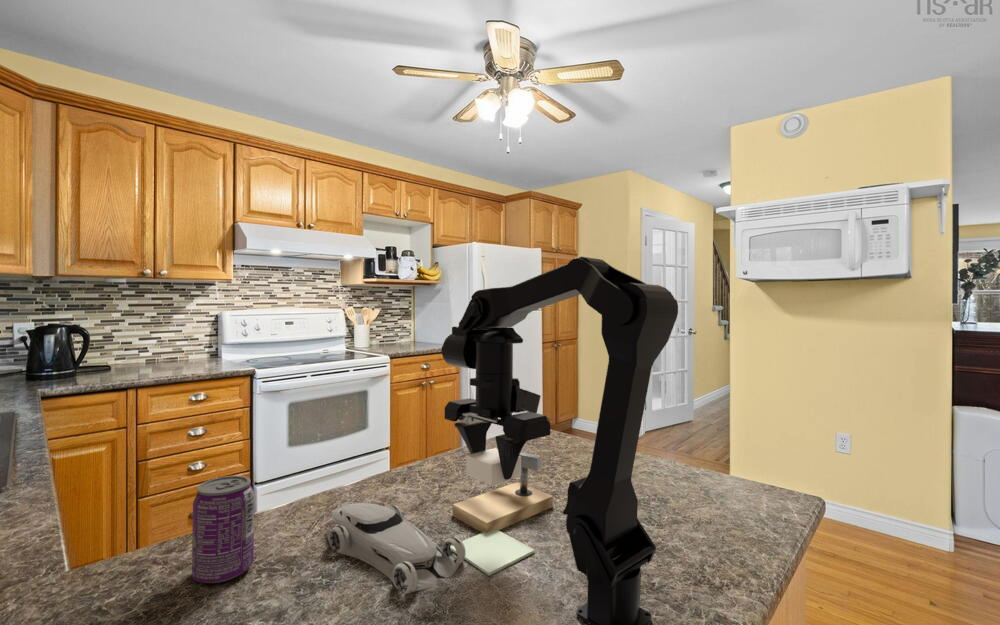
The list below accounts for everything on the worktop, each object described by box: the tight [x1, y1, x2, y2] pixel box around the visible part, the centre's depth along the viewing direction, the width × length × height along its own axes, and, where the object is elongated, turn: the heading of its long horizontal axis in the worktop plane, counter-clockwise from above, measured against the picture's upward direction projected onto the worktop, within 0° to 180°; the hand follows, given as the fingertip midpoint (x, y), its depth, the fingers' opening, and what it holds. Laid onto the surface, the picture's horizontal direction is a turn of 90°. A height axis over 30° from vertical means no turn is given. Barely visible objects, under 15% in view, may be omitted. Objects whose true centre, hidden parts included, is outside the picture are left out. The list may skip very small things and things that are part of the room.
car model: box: [326, 502, 466, 595], centre depth 69 cm, size 11×24×5 cm, turn 50°
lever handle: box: [519, 451, 542, 493], centre depth 86 cm, size 10×2×7 cm, turn 61°
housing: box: [452, 481, 554, 533], centre depth 82 cm, size 16×9×2 cm, turn 133°
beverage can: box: [191, 475, 255, 584], centre depth 62 cm, size 7×7×12 cm
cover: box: [465, 447, 521, 487], centre depth 71 cm, size 6×6×3 cm
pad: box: [450, 529, 535, 577], centre depth 69 cm, size 9×9×1 cm
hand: (493, 473), depth 71 cm, fingers closed on cover, 6 cm apart
